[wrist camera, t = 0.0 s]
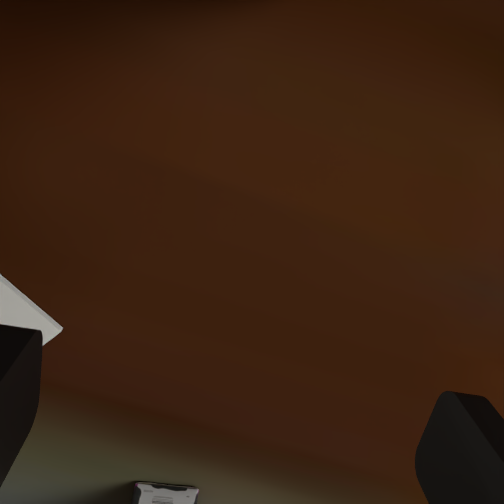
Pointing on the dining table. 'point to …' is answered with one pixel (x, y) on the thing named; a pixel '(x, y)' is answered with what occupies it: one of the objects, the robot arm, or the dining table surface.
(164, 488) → the candy bar box
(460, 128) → the dining table surface
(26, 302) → the mat
